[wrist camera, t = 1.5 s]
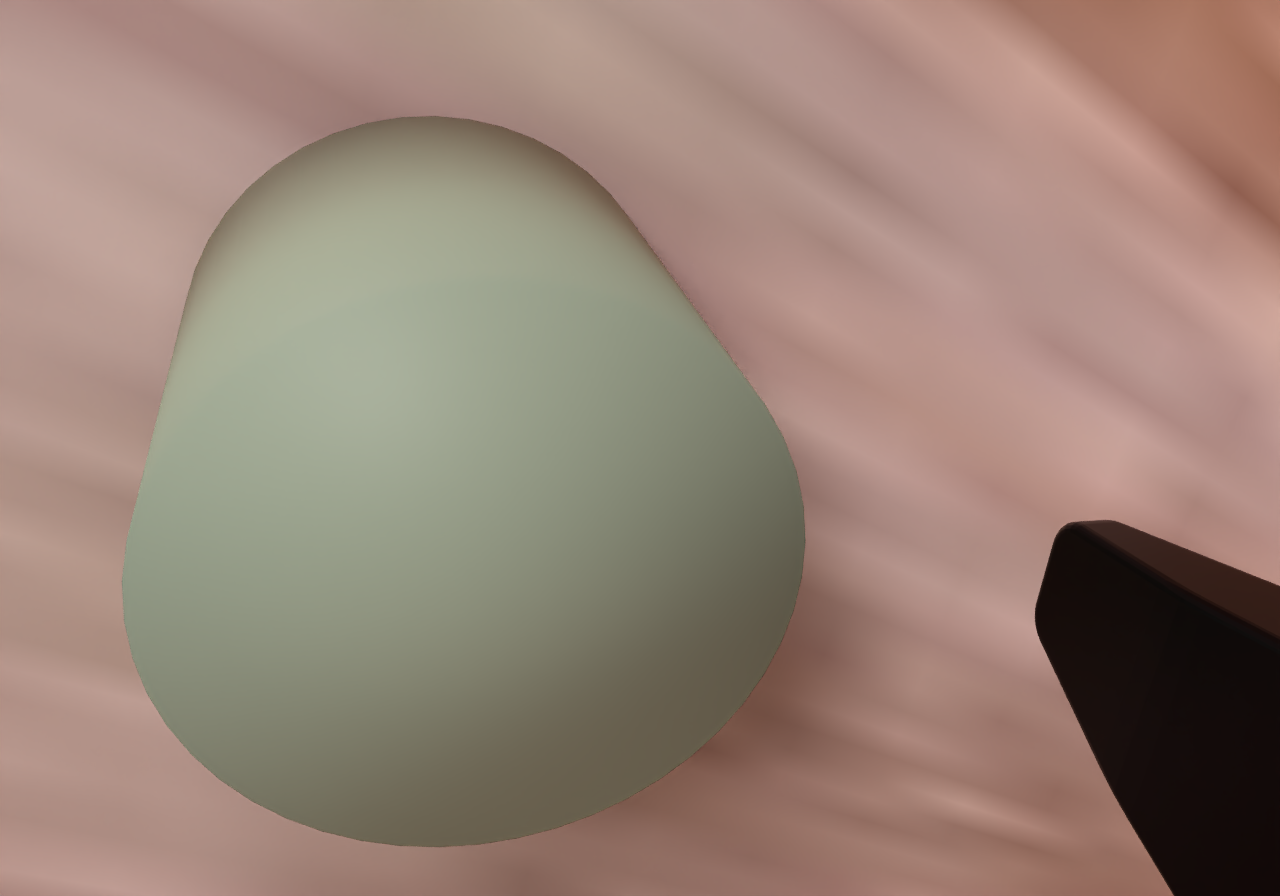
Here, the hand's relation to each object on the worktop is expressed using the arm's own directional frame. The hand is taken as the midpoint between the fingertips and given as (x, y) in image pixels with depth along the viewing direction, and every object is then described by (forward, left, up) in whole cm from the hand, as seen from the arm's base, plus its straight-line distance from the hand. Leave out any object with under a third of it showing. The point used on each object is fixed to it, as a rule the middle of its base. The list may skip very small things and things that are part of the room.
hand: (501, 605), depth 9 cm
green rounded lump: (0, 0, -5) cm, 5 cm away
